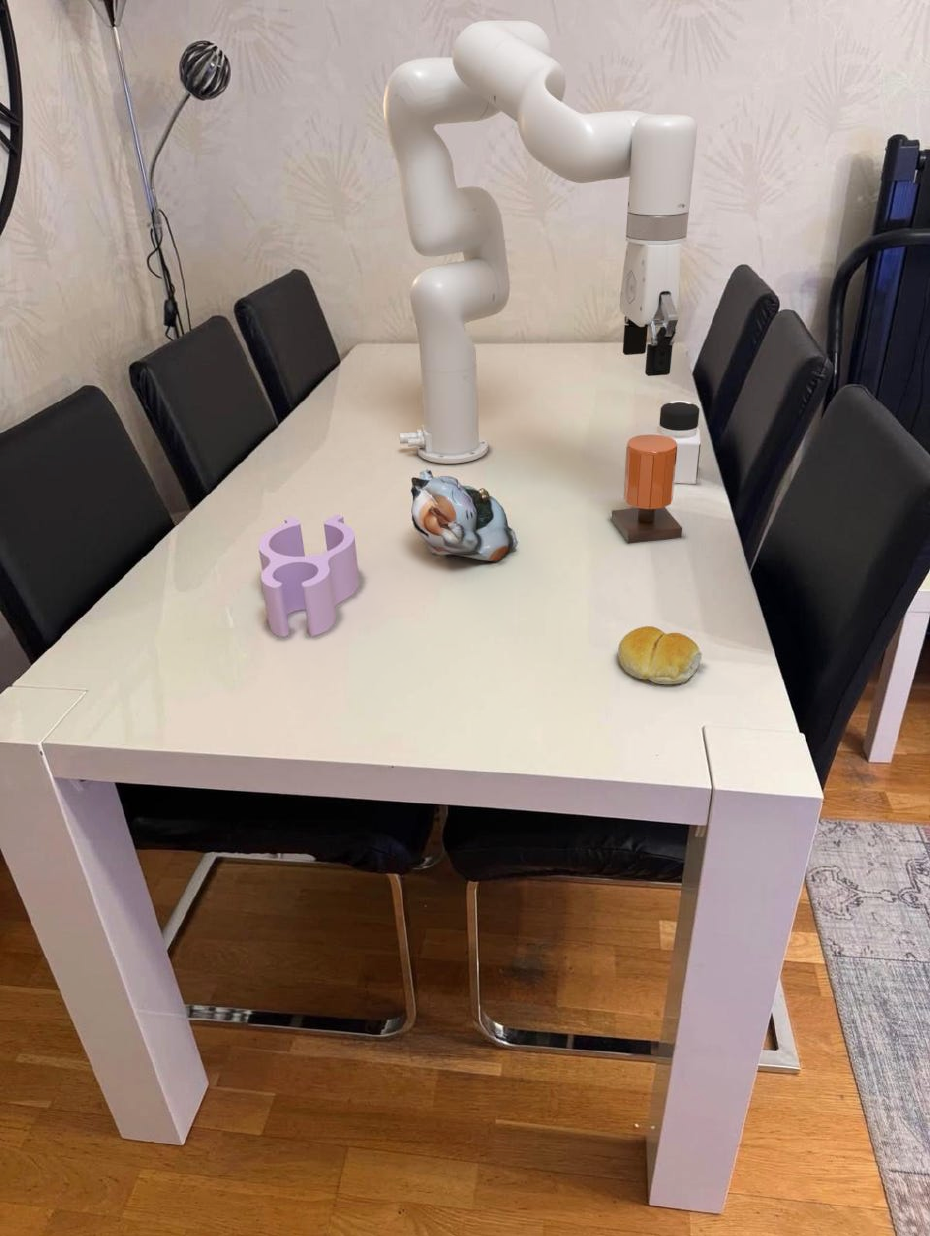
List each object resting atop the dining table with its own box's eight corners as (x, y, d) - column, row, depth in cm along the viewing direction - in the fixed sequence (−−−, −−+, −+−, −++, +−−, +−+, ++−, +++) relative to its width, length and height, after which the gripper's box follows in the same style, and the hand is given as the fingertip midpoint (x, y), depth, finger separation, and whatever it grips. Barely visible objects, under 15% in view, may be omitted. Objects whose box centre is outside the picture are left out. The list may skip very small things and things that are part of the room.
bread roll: (634, 637, 107) (636, 608, 105) (707, 658, 102) (710, 628, 100) (604, 672, 101) (605, 642, 99) (680, 695, 97) (683, 665, 95)
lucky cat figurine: (528, 560, 124) (496, 495, 114) (451, 598, 125) (412, 538, 115) (495, 492, 134) (462, 426, 123) (423, 529, 135) (385, 467, 124)
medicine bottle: (696, 484, 144) (704, 412, 138) (651, 482, 146) (656, 411, 140) (695, 468, 150) (703, 398, 144) (652, 466, 152) (657, 396, 146)
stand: (627, 543, 128) (632, 459, 121) (611, 520, 135) (615, 439, 128) (681, 537, 129) (689, 454, 122) (662, 514, 135) (669, 434, 129)
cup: (632, 511, 126) (636, 453, 121) (618, 492, 132) (621, 436, 127) (679, 506, 127) (684, 449, 122) (662, 487, 132) (667, 432, 128)
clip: (349, 634, 110) (342, 585, 106) (247, 637, 110) (238, 588, 106) (364, 558, 127) (359, 514, 123) (276, 561, 127) (269, 517, 123)
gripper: (607, 218, 119) (600, 348, 128) (650, 241, 105) (638, 385, 114) (662, 216, 120) (651, 344, 129) (711, 237, 105) (695, 381, 115)
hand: (645, 363), depth 121 cm, fingers open, 9 cm apart
